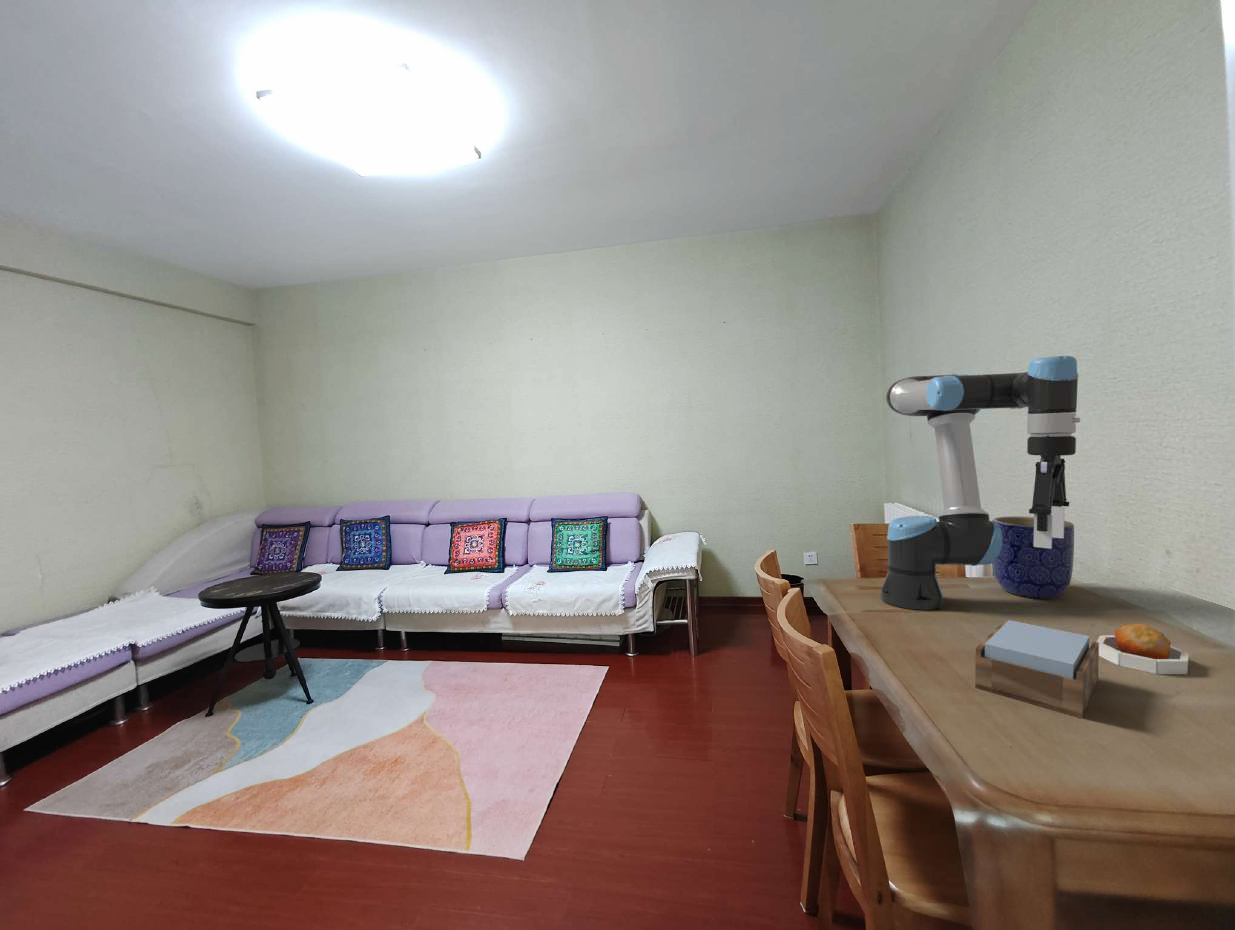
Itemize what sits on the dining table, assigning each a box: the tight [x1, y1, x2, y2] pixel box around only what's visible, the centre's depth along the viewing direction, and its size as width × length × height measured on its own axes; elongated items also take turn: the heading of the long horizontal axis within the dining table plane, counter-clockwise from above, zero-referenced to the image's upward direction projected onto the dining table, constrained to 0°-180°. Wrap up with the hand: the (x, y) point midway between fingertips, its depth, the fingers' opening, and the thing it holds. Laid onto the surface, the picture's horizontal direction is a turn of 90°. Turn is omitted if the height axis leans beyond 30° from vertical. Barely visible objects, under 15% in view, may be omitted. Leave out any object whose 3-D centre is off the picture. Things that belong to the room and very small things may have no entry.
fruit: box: [1114, 623, 1172, 659], centre depth 108 cm, size 8×8×8 cm
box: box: [974, 622, 1100, 719], centre depth 99 cm, size 18×15×8 cm
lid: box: [985, 619, 1090, 679], centre depth 98 cm, size 17×12×2 cm
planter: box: [991, 516, 1075, 600], centre depth 151 cm, size 18×18×21 cm
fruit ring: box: [1096, 634, 1190, 675], centre depth 108 cm, size 13×13×2 cm
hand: (1049, 542), depth 107 cm, fingers open, 12 cm apart
